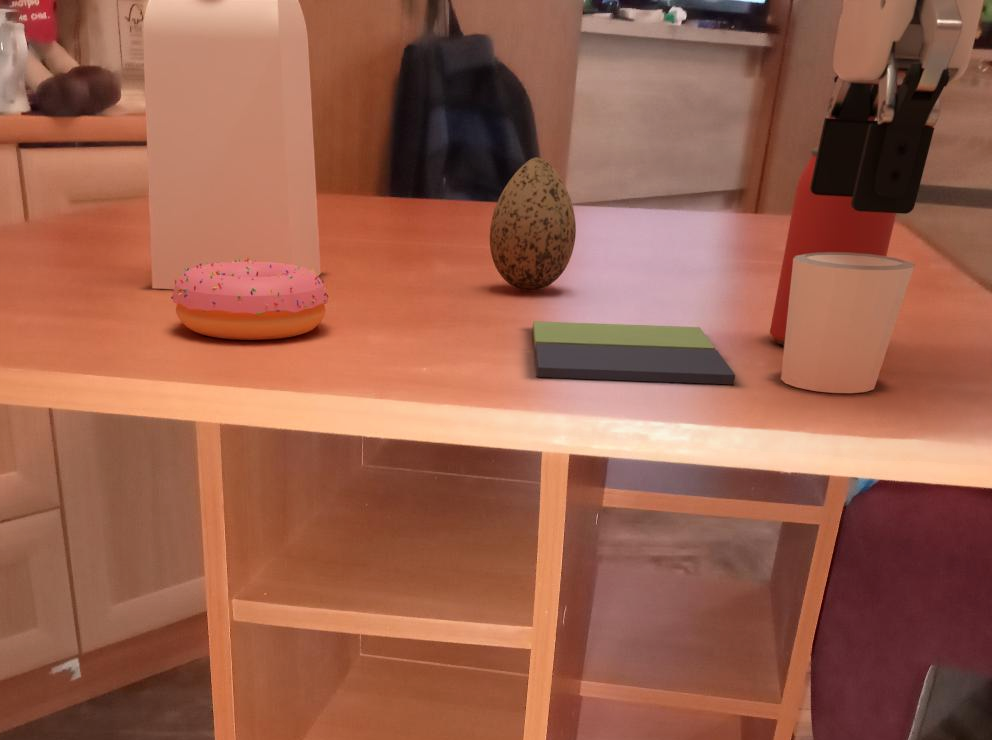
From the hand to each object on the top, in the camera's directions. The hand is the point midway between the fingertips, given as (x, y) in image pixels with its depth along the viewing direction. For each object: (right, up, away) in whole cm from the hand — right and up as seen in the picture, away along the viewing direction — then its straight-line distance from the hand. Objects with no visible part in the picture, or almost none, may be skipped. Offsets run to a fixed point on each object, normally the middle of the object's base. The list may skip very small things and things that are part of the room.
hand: (857, 203), depth 66 cm
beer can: (+3, -2, +15) cm, 16 cm away
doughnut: (-37, -1, +16) cm, 40 cm away
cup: (0, -8, +5) cm, 10 cm away
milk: (-40, +11, +34) cm, 54 cm away
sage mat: (-11, -2, +14) cm, 18 cm away
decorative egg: (-15, +9, +33) cm, 37 cm away
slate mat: (-11, -7, +8) cm, 15 cm away
